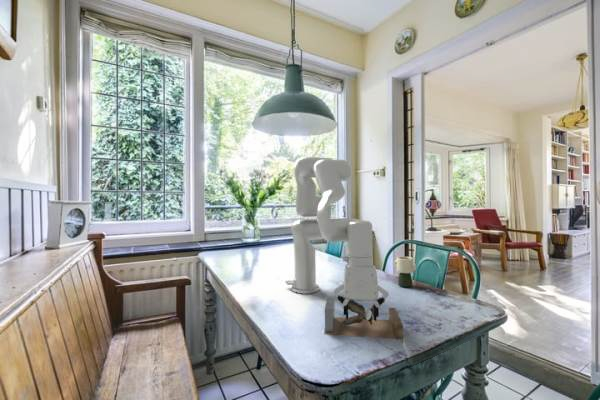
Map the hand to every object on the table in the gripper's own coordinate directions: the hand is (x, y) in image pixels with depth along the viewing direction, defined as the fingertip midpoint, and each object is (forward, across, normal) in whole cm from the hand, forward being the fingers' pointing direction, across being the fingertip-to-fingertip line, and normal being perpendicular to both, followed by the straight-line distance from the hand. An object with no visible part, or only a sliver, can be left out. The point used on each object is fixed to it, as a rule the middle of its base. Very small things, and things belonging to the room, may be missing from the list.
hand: (360, 317), depth 85 cm
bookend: (+3, -9, 0) cm, 10 cm away
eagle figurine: (+2, -1, 0) cm, 2 cm away
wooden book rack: (+4, 0, 0) cm, 4 cm away
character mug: (+5, +22, +47) cm, 52 cm away
